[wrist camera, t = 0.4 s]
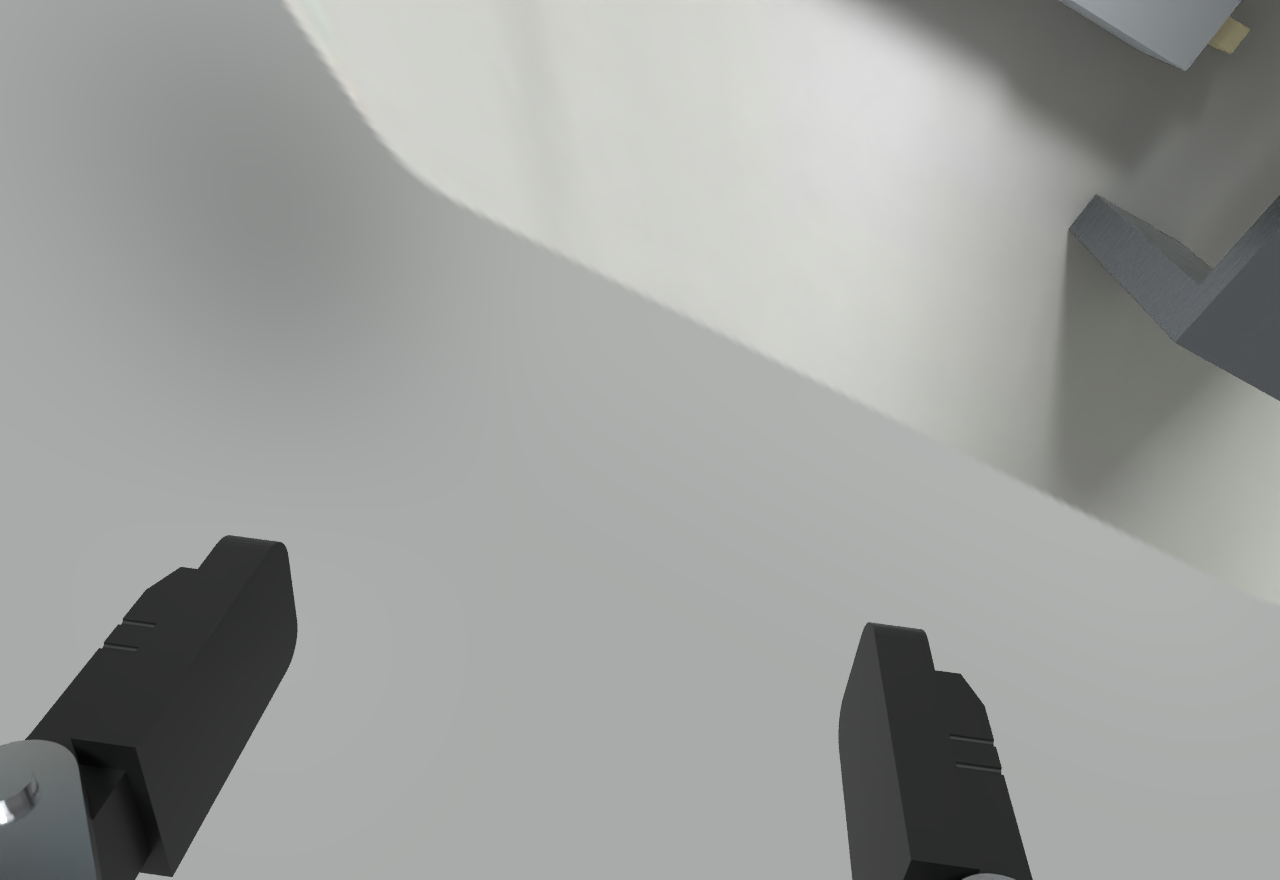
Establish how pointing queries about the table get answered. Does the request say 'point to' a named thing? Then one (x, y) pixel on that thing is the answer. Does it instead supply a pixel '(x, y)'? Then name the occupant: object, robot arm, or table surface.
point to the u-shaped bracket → (1199, 288)
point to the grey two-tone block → (1167, 25)
